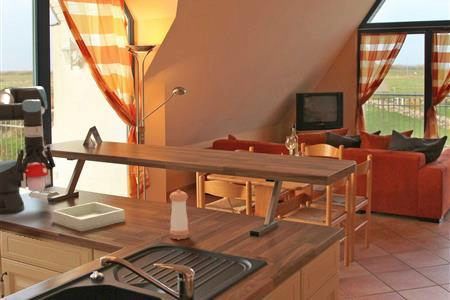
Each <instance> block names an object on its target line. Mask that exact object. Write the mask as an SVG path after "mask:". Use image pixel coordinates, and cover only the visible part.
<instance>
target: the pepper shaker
mask: <svg viewBox="0 0 450 300" xmlns="http://www.w3.org/2000/svg"><path fill="white" fill-rule="evenodd" d="M188 198H189V196H188V194H187V192H185V191H182V190H180V189H177V190H176V191H173V192H171V193H170V195H169V199H170V201H171V217H170V229H169V235H170V234H173V235H186V234H188V233H189V231H190V229H189V228H188V227H189V226H188V225H189V222H188V221H189V219H188V214H187V200H188ZM189 234H190V233H189Z"/></svg>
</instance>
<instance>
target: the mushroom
mask: <svg viewBox="0 0 450 300" xmlns="http://www.w3.org/2000/svg"><path fill="white" fill-rule="evenodd" d="M45 166H46V165H45V164H44V163H36V162H34V163H31V164H28V165H27V167H26V169H25V171H24V173H25V175H26V177H27V185H28V187H27V188H28V191H31V192H32V191H33V192H35V191H36V192H38V191H44V190H45V188H46V186H45V181H46V180H45V177H44V176H46V175H48V171H47V168H46V167H45Z"/></svg>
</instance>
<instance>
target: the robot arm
mask: <svg viewBox="0 0 450 300" xmlns="http://www.w3.org/2000/svg"><path fill="white" fill-rule="evenodd" d="M47 109H48V100H47V94H46V91H45V89H44V87H43V86H40V85H39V86H38V85H37V86H36V85H33V86H9V87H5V88H3V89H1V90H0V122H2V121H3V122H5V121H8V122H9V121H10V122H11V121H23V134H24V135H23V136H24V137H23V139H24V146H25V147H24V148H23V149H21V148H20V149H17V153H18V155H17V157H16V158H17V159H8V160H7V159H6V160H2V161H0V215H7V214H14V213H19V212H22V211H24V210H25V203H24V200H23V199H22V196H21V193H20V188H21V189H25V190H26V189H27V188H28V185H27V177H26V175H25V173H24V171H25V169H26V167H27V165H28V164H31V163H34V162H36V163H44V164H45V165H46V166H45V167H46V168H47V171H48V175H46V176H44V177H45V180H46V181H45V187H46V186H49V185H51V184H52V183H51V182H52V181H51V177H52V175H53V174H52V173H53V172H52V170H53V169H54V168H55V167H56V163H55V161H54V158H53V156H52V154H51V147H50V146H48V145H45V142H44V141H45V140H44V128H43V114H44V113H45V110H47ZM24 155H25V156H24Z"/></svg>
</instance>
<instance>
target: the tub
mask: <svg viewBox="0 0 450 300" xmlns="http://www.w3.org/2000/svg"><path fill="white" fill-rule="evenodd" d="M51 215H52V223H55V224H57V225H60V226H63V227H67V228H69V229H73V230H75V231H78V232H85V231H88V230H89V231H90V230H93V229H98V228H101V227H102V228H103V227H105V226H109V225H113V224H118V223H122V222H126V221H125V220H126V219H125V218H126V217H125V209H123V208H119V207H115V206H113V205H108V204H105V203H100V202H97V201H93V202H88V203H84V204H83V203H82V204H78V205H73V206H69V207H64V208H59V209H54V210H52V211H51Z"/></svg>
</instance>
